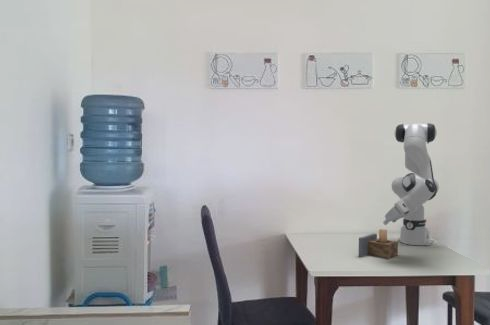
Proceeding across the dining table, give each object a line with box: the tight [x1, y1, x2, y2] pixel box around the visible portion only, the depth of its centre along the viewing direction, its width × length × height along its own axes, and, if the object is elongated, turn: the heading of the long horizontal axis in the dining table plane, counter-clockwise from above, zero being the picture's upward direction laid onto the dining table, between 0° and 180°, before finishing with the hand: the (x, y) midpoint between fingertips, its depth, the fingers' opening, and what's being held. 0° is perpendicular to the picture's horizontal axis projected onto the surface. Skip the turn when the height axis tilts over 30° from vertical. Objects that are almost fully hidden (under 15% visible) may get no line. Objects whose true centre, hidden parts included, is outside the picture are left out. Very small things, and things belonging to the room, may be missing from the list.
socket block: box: [367, 237, 399, 260], centre depth 226 cm, size 11×11×7 cm
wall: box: [358, 233, 378, 258], centre depth 227 cm, size 16×2×10 cm, turn 137°
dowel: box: [378, 228, 388, 243], centre depth 226 cm, size 4×4×11 cm
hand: (388, 222), depth 223 cm, fingers open, 8 cm apart
